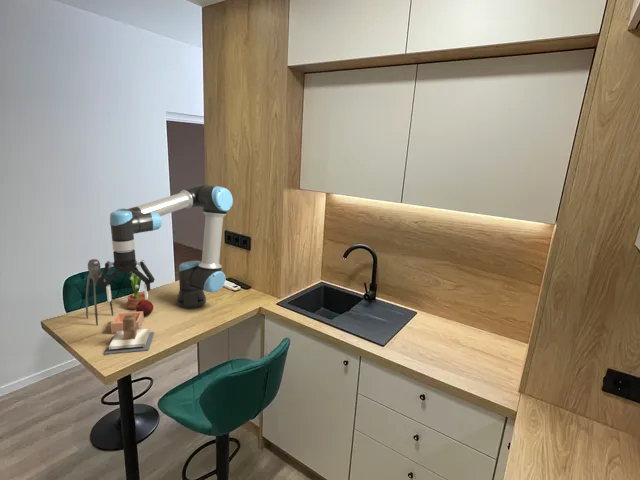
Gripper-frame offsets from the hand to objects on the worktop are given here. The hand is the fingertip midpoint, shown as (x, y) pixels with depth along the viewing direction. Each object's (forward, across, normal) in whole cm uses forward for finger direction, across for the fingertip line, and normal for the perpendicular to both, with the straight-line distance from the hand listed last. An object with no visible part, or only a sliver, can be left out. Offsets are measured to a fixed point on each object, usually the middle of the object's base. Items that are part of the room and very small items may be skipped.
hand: (128, 299), depth 141 cm
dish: (+20, +4, -15) cm, 25 cm away
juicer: (+20, +20, -26) cm, 38 cm away
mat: (+20, 0, 0) cm, 20 cm away
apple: (+20, 0, -27) cm, 33 cm away
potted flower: (+20, +4, -37) cm, 42 cm away
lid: (+19, 0, 0) cm, 19 cm away
